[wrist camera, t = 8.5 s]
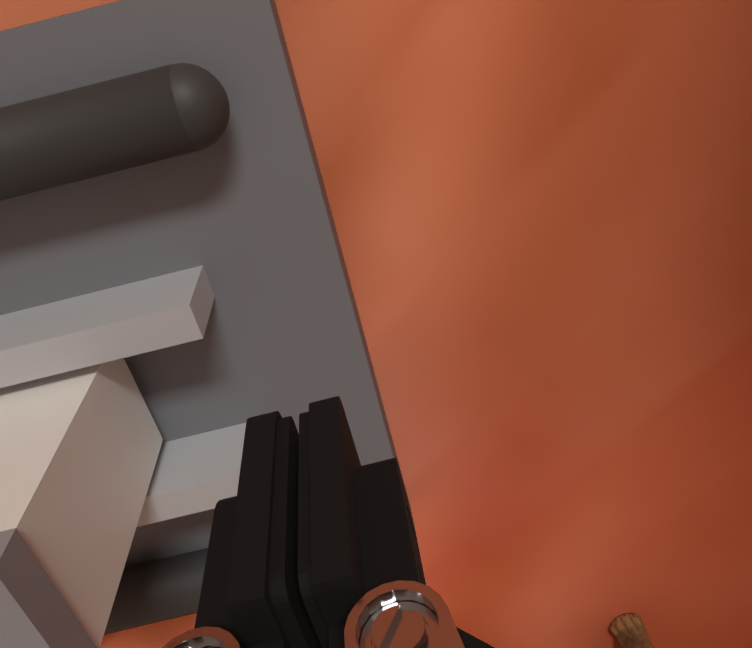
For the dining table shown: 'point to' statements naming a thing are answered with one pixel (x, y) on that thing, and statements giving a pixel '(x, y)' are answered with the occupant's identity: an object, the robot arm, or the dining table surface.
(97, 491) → the knob
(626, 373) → the dining table surface
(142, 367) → the breaker panel
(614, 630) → the lion figurine
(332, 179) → the dining table surface
